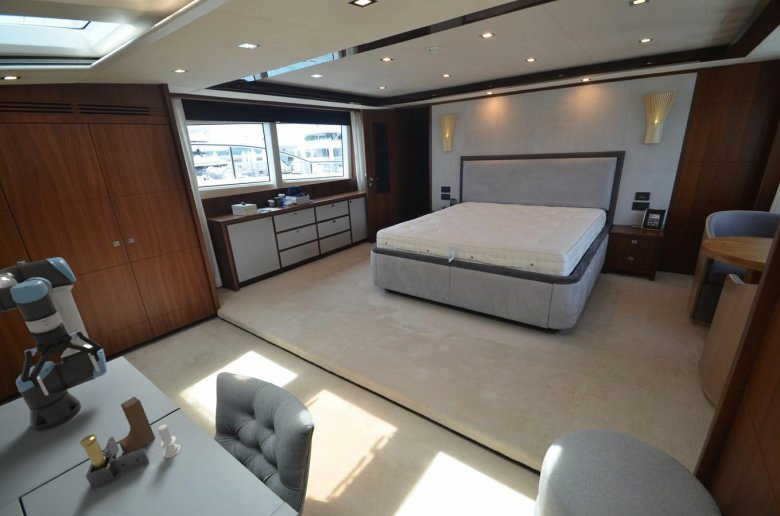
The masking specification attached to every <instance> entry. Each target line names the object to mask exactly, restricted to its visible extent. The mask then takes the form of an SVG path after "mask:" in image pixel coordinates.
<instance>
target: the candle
mask: <svg viewBox="0 0 780 516" xmlns="http://www.w3.org/2000/svg"><path fill="white" fill-rule="evenodd" d="M158 435H159V437H161V439H162V441H161V442H160V447H161V448H165V449H164V453H163V455H162V456H163V457H164V458H165V459H170V458H173V457H175V456H177V454H179V452H180V451H181V448H182V447H181V445H180V444H176V443H175V442H176V440H177V436H175V435H172V434H171V432H170V429H169V428H168V425H167V424H165V423H164V424H162V425H160V426H159V428H158Z"/></svg>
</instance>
